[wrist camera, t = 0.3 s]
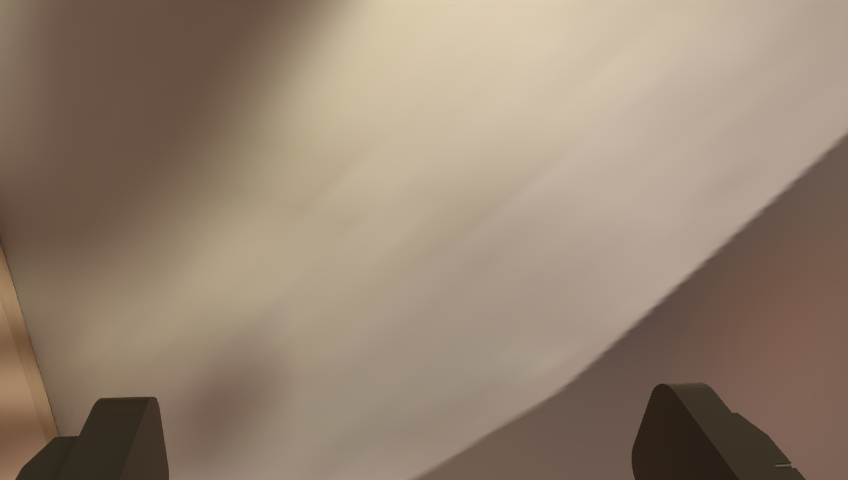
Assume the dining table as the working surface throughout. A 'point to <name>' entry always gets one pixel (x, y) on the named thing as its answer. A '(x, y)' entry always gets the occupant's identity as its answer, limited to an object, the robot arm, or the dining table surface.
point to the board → (19, 387)
